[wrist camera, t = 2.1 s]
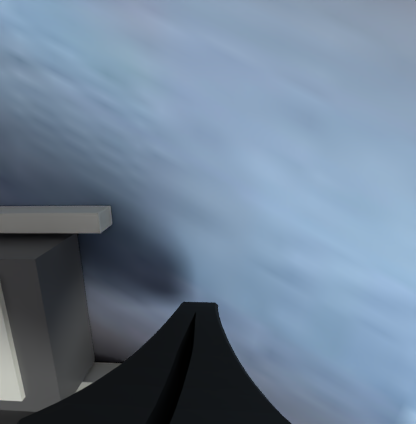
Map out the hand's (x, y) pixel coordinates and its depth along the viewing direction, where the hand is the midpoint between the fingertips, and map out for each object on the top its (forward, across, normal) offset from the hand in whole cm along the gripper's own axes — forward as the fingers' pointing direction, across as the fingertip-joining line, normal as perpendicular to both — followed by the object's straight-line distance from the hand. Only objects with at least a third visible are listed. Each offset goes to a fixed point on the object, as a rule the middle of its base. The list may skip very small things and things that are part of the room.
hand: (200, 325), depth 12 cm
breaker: (+2, +7, 0) cm, 7 cm away
